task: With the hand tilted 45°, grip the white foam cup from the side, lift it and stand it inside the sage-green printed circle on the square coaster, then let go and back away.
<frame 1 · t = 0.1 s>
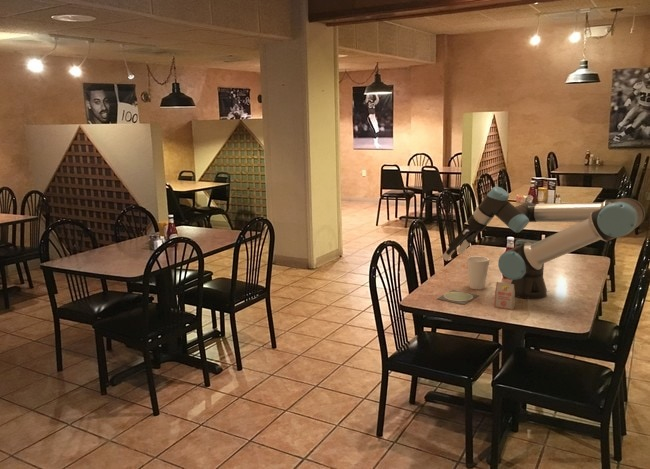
hand: (451, 255, 247), 15 cm above the table, tool tilted 35°, fingers open, 13 cm apart
foam cup: (477, 287, 252), on the table
square coaster: (458, 297, 238), on the table
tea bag: (504, 307, 226), on the table
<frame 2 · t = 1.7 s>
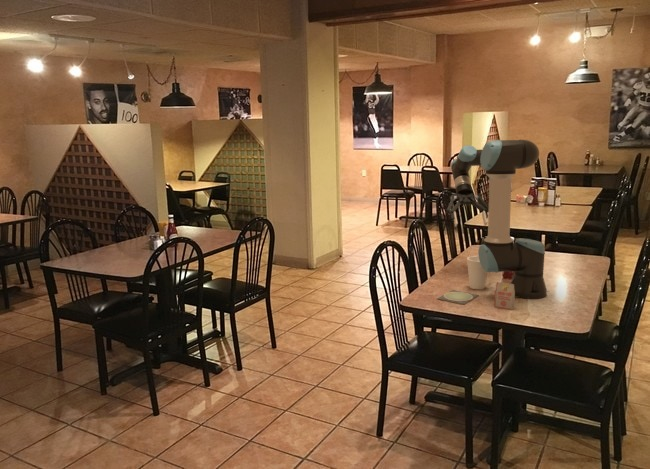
hand: (471, 224, 259), 26 cm above the table, tool tilted 45°, fingers open, 13 cm apart
nothing on the table moved.
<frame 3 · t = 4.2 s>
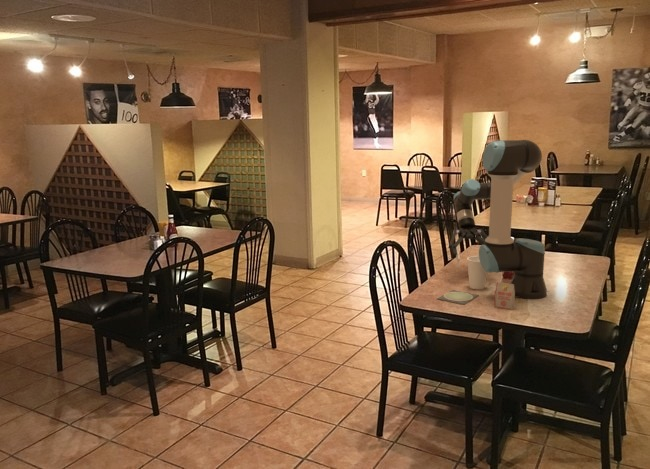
hand: (473, 260, 255), 11 cm above the table, tool tilted 45°, fingers open, 13 cm apart
nothing on the table moved.
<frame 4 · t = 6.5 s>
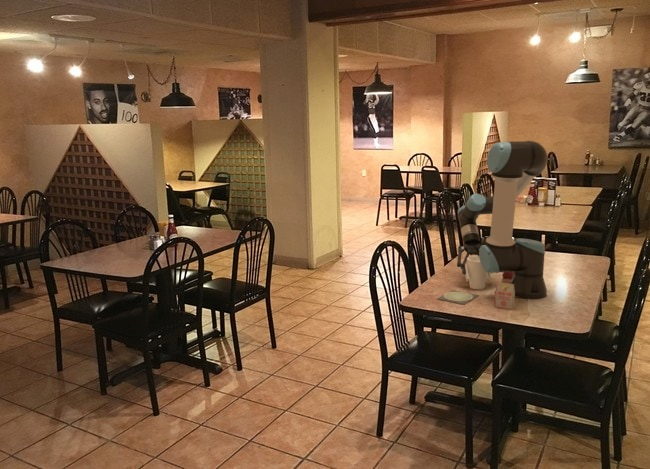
hand: (479, 279, 248), 4 cm above the table, tool tilted 45°, fingers closed on foam cup, 9 cm apart
foam cup: (477, 287, 252), on the table, touching gripper
everything else where it was.
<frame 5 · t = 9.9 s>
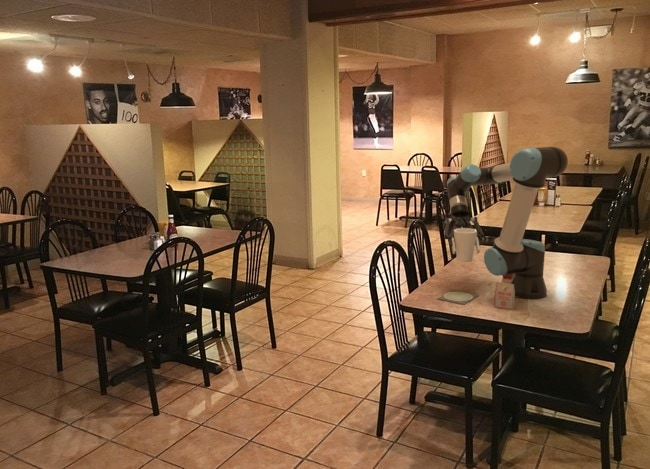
hand: (466, 252, 239), 18 cm above the table, tool tilted 45°, fingers closed on foam cup, 9 cm apart
foam cup: (464, 260, 243), point 14 cm above the table, touching gripper
everything else where it was.
when the fingers open (6 cm above the table, at t = 13.6 s): foam cup drops 1 cm, resting on square coaster.
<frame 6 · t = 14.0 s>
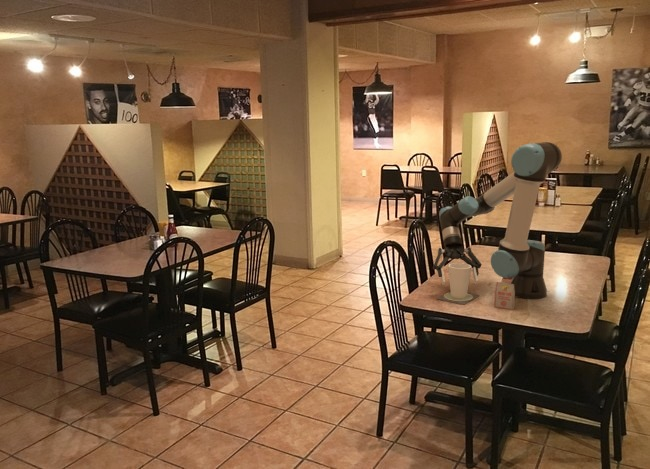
hand: (460, 283, 235), 7 cm above the table, tool tilted 45°, fingers open, 13 cm apart
foam cup: (458, 296, 238), point 1 cm above the table, touching square coaster
everything else where it was.
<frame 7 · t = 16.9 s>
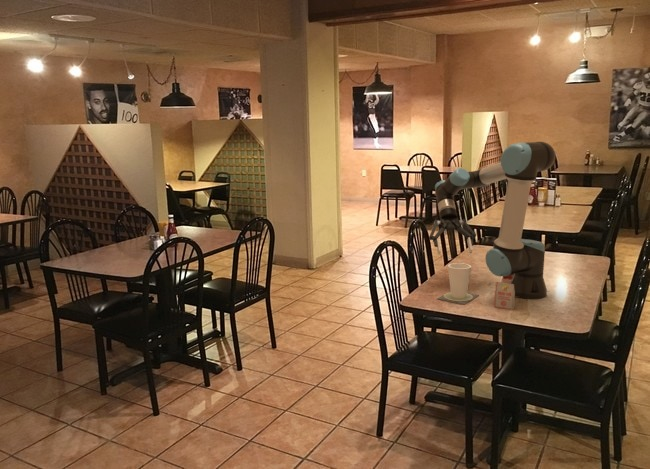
hand: (455, 252, 243), 18 cm above the table, tool tilted 45°, fingers open, 13 cm apart
nothing on the table moved.
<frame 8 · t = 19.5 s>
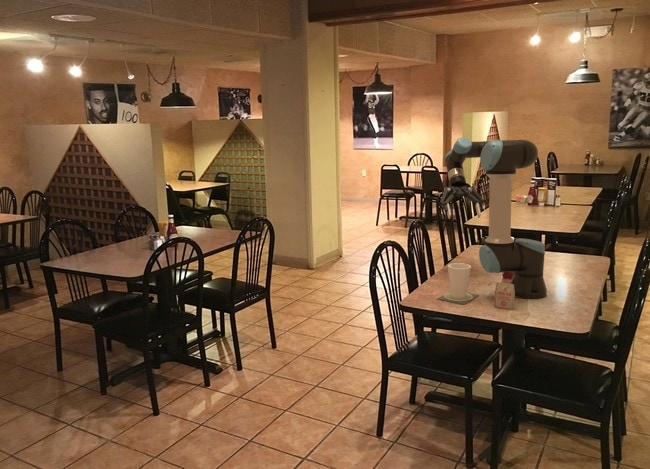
hand: (464, 216, 258), 30 cm above the table, tool tilted 45°, fingers open, 13 cm apart
nothing on the table moved.
at the end: foam cup 0.3 cm off-centre on the square coaster, point 0.6 cm above the square coaster's base; foam cup tilted 0°; the gripper is holding nothing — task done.
